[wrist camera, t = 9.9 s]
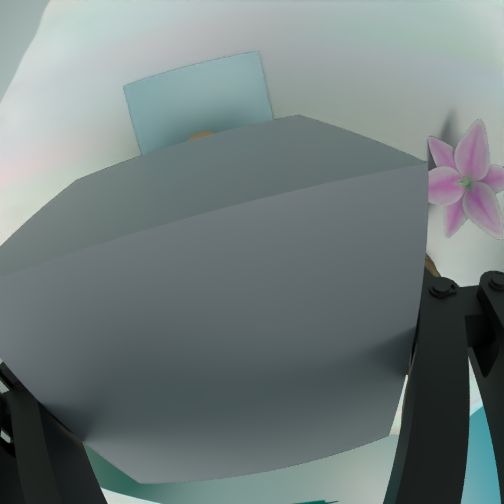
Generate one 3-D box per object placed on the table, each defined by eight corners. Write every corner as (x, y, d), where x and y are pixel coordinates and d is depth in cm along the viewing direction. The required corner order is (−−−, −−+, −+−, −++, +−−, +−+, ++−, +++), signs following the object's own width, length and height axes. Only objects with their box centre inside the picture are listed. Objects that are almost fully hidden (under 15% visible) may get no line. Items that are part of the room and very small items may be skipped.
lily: (456, 103, 27) (478, 104, 20) (512, 179, 28) (542, 203, 20) (390, 166, 34) (391, 186, 27) (447, 235, 35) (460, 273, 27)
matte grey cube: (298, 114, 12) (428, 162, 5) (326, 302, 17) (388, 436, 10) (75, 179, 12) (-44, 295, 5) (154, 343, 17) (140, 483, 10)
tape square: (258, 51, 23) (258, 51, 23) (283, 177, 29) (284, 178, 29) (123, 86, 23) (122, 86, 23) (158, 207, 29) (158, 208, 29)
